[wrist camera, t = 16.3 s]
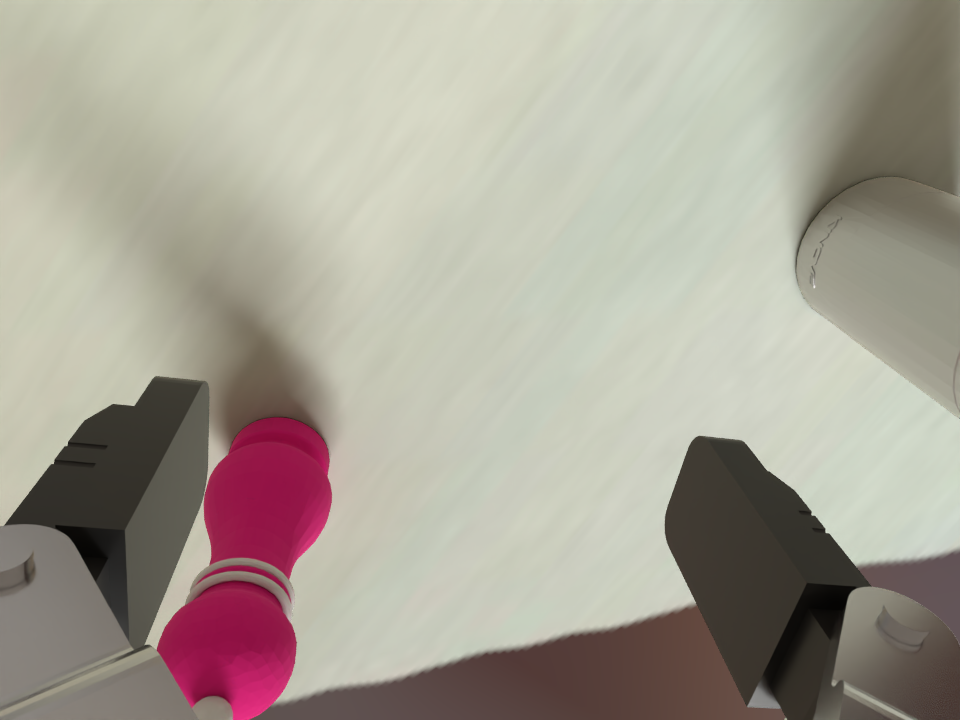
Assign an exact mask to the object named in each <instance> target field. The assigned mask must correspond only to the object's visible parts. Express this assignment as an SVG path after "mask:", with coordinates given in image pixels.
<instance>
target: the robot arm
mask: <svg viewBox="0 0 960 720" xmlns="http://www.w3.org/2000/svg"><path fill="white" fill-rule="evenodd" d="M796 274H797V280H798V286H799V288H800V291H801V293H802V295H803V297H804V299H805V300H806V301H807V303H808V304H809V305H810V306H811V308H812V309H814V310H815V311H816V312H818V313H819V314H820V315H822V316H823V317H824V318H826V319H827V320H828V321H830V322H831V323H832V324H834V325H835V326H836V327H838V328H839V329H840V330H842V331H843V332H844V333H846V334H847V335H848V336H849V337H850V338H852V339H853V340H854V341H856V342H857V343H858V344H860V345H861V346H862V347H864V348H865V349H866V350H868V351H869V352H870V353H872V354H873V355H875V356H876V357H877V358H879V359H880V360H881V361H883V362H884V363H885V364H887V365H888V366H889V367H891V368H892V369H893V370H895V371H896V372H897V373H899V374H900V375H901V376H903V377H904V378H905V379H907V380H908V381H909V382H911V383H912V384H913V385H915V386H916V387H917V388H919V389H920V390H921V391H923V392H924V393H926V394H927V395H928V396H930V397H931V398H932V399H934V400H935V401H936V402H938V403H939V404H940V405H942V406H943V407H944V408H946V409H947V410H948V411H950V412H951V413H952V414H954V415H955V416H956V417H958V418H959V419H960V197H958V196H956V195H953V194H950V193H947V192H944V191H942V190H939V189H936V188H933V187H930V186H927V185H924V184H921V183H918V182H916V181H913V180H910V179H905V178H900V177H879V178H875V179H871V180H867V181H863V182H861V183H859V184H857V185H854V186H852V187H850V188H848V189H846V190H845V191H843V192H842V193H841V194H839V195H838V196H836V197H835V198H833V199H832V200H831V201H830V202H829V203H828V204H827V205H826V206H825V207H824V208H823V209H822V210H821V211H820V212H819V213H818V215H817V216H816V217H815V219H814V220H813V222H812V223H811V224H810V226H809V227H808V229H807V232H806V234H805V236H804V238H803V240H802V242H801V245H800V249H799V253H798V256H797V269H796ZM208 437H209V386H208V383H207V382H206V381H197V380H188V379H179V378H169V377H160V376H156V377H154V378H153V379H152V381H151V382H150V384H149V385H148V387H147V388H146V390H145V391H144V393H143V394H142V396H141V397H140V399H139V400H138V402H137V403H136V405H135V406H127V405H117V404H112V405H111V406H109V407H107V408H106V409H104V410H102V411H100V412H99V413H97V414H95V415H93V416H92V417H90V418H88V419H86V420H85V421H84V422H83V423H82V424H81V426H80V427H79V428H78V430H77V431H76V432H75V434H74V435H73V436H72V438H71V439H70V440H69V441H68V446H65V447H64V448H63V449H62V451H61V452H60V453H59V455H58V456H57V457H56V458H55V461H54V464H51V465H50V466H49V468H48V469H47V470H46V471H45V473H44V474H43V475H42V477H41V478H40V479H39V481H38V482H37V483H36V485H35V486H34V487H33V488H32V490H31V491H30V492H29V494H28V495H27V496H26V498H25V499H24V500H23V502H22V503H21V504H20V505H19V507H18V508H17V509H16V511H15V512H14V513H13V515H12V516H11V517H10V518H9V520H8V521H7V522H6V524H5V525H4V526H0V720H198V718H197V716H196V714H195V713H194V711H193V709H192V708H191V706H190V704H189V703H188V701H187V699H186V697H185V696H184V694H183V692H182V691H181V689H180V687H179V686H178V684H177V682H176V681H175V679H174V677H173V675H172V674H171V672H170V670H169V669H168V667H167V665H166V664H165V662H164V660H163V659H162V657H161V656H160V654H159V653H158V652H157V650H156V649H155V648H153V647H152V646H150V645H144V644H145V642H146V640H147V637H148V635H149V632H150V630H151V627H152V625H153V622H154V620H155V617H156V615H157V612H158V610H159V607H160V605H161V602H162V600H163V598H164V595H165V593H166V590H167V588H168V585H169V583H170V580H171V578H172V575H173V573H174V570H175V568H176V565H177V563H178V560H179V558H180V555H181V553H182V551H183V548H184V546H185V543H186V541H187V538H188V536H189V533H190V531H191V528H192V526H193V523H194V521H195V518H196V516H197V513H198V511H199V509H200V506H201V503H202V500H203V496H204V491H205V486H206V480H207V471H208ZM665 535H666V540H667V544H668V546H669V548H670V550H671V552H672V554H673V556H674V558H675V561H676V563H677V565H678V567H679V569H680V571H681V573H682V575H683V577H684V579H685V581H686V583H687V585H688V587H689V589H690V591H691V593H692V595H693V597H694V599H695V601H696V604H697V606H698V608H699V610H700V612H701V614H702V616H703V618H704V620H705V622H706V624H707V626H708V628H709V630H710V632H711V634H712V636H713V638H714V640H715V642H716V644H717V646H718V649H719V651H720V653H721V655H722V657H723V659H724V661H725V663H726V665H727V667H728V669H729V671H730V673H731V675H732V677H733V679H734V681H735V683H736V685H737V687H738V690H739V692H740V693H741V696H742V698H743V699H744V702H745V704H746V706H747V707H757V708H780V709H782V711H783V713H784V715H785V716H786V717H785V719H784V720H960V645H959V643H958V641H957V639H956V637H955V636H954V634H953V633H952V631H951V630H950V629H949V628H948V627H947V625H946V624H945V623H944V622H943V621H941V620H940V619H939V618H938V617H937V616H936V615H935V614H933V613H932V612H931V611H929V610H928V609H926V608H925V607H924V606H922V605H920V604H919V603H917V602H915V601H914V600H911V599H909V598H908V597H906V596H903V595H901V594H898V593H896V592H893V591H890V590H887V589H882V588H877V587H872V586H871V585H870V584H869V583H868V581H867V580H866V579H865V578H864V576H863V575H862V574H861V573H860V571H859V570H858V569H857V568H856V566H855V565H854V564H853V563H852V561H851V560H850V559H849V558H848V556H847V555H846V554H845V553H844V551H843V550H842V549H841V548H840V546H839V545H838V544H837V543H836V541H835V540H834V539H833V538H832V536H831V535H830V534H828V533H825V528H824V526H823V525H822V524H821V523H820V522H819V520H818V519H817V518H816V517H815V516H812V515H811V510H810V509H809V508H808V507H807V505H806V504H805V503H804V502H803V500H802V499H801V498H800V497H799V495H798V494H797V493H796V492H795V491H794V490H793V489H792V488H790V487H789V486H788V485H786V484H785V483H784V482H782V481H781V480H780V479H778V478H777V477H776V476H774V475H773V474H772V473H771V472H769V471H767V470H766V469H765V468H764V466H763V465H762V464H761V463H760V461H759V460H758V459H757V457H756V456H755V455H754V454H753V452H752V451H751V450H750V448H749V447H748V446H747V445H746V444H745V442H743V441H741V440H734V439H725V438H715V437H706V436H698V437H696V438H695V439H694V440H693V441H692V442H691V444H690V446H689V448H688V451H687V453H686V456H685V459H684V462H683V465H682V468H681V470H680V473H679V476H678V479H677V482H676V484H675V487H674V490H673V493H672V496H671V499H670V501H669V504H668V507H667V511H666V516H665Z"/></svg>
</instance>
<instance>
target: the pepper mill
mask: <svg viewBox="0 0 960 720" xmlns="http://www.w3.org/2000/svg"><path fill="white" fill-rule="evenodd" d="M328 469H329V453H328V449H327V446H326V444H325V442H324V441H323V439H322V438H321V437H320V436H319V434H318V433H317V432H315V431H314V430H313V429H312V428H310V427H309V426H307V425H305V424H304V423H302V422H299V421H297V420H293V419H289V418H280V417H272V418H266V419H262V420H258V421H256V422H253V423H251V424H249V425H248V426H246V427H245V428H244V429H242V430H241V431H240V432H239V434H238V435H237V436H236V437H235V439H234V441H233V443H232V446H231V448H230V451H229V453H228V455H227V456H226V457H225V458H224V459H223V460H222V461H221V462H220V463H219V464H218V465H217V466H216V468H215V469H214V471H213V472H212V474H211V476H210V478H209V482H208V485H207V489H206V492H205V497H204V520H205V524H206V528H207V532H208V535H209V539H210V543H211V561H210V565H209V566H208V567H206V568H205V569H204V570H202V571H201V572H200V573H199V574H198V575H197V577H196V578H195V580H194V581H193V583H192V586H191V589H190V594H189V595H188V597H187V599H186V603H185V606H183V607H182V608H181V609H179V610H178V611H177V612H176V613H175V615H174V616H173V617H172V619H171V620H170V621H169V623H168V624H167V625H166V627H165V629H164V631H163V633H162V636H161V638H160V641H159V643H158V647H157V652H158V653H159V654H160V656H161V657H162V659H163V660H164V662H165V664H166V665H167V667H168V669H169V670H170V672H171V674H172V675H173V677H174V679H175V681H176V682H177V684H178V686H179V687H180V689H181V691H182V692H183V694H184V696H185V697H186V699H187V701H188V703H189V704H190V706H191V708H192V709H193V711H194V713H195V714H196V716H197V718H198V720H249V719H251V718H253V717H255V716H257V715H259V714H260V713H262V712H263V711H265V710H266V709H267V708H268V707H269V706H270V705H271V704H273V703H274V702H275V701H276V699H277V698H278V697H279V696H280V695H281V693H282V692H283V690H284V689H285V687H286V685H287V683H288V681H289V679H290V677H291V675H292V671H293V668H294V664H295V656H296V644H297V642H296V637H295V633H294V630H293V627H292V624H291V620H292V610H293V608H294V603H295V594H294V590H293V587H292V585H291V583H290V581H289V578H290V575H291V572H292V568H293V566H294V564H295V562H296V561H297V559H298V558H299V557H300V556H301V555H302V554H303V553H304V552H305V551H306V550H307V549H308V548H309V547H310V546H311V545H312V544H313V543H314V542H315V540H316V539H317V538H318V536H319V535H320V533H321V531H322V530H323V528H324V526H325V524H326V522H327V519H328V515H329V512H330V508H331V503H332V492H331V486H330V482H329V480H328V477H327V475H328Z"/></svg>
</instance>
